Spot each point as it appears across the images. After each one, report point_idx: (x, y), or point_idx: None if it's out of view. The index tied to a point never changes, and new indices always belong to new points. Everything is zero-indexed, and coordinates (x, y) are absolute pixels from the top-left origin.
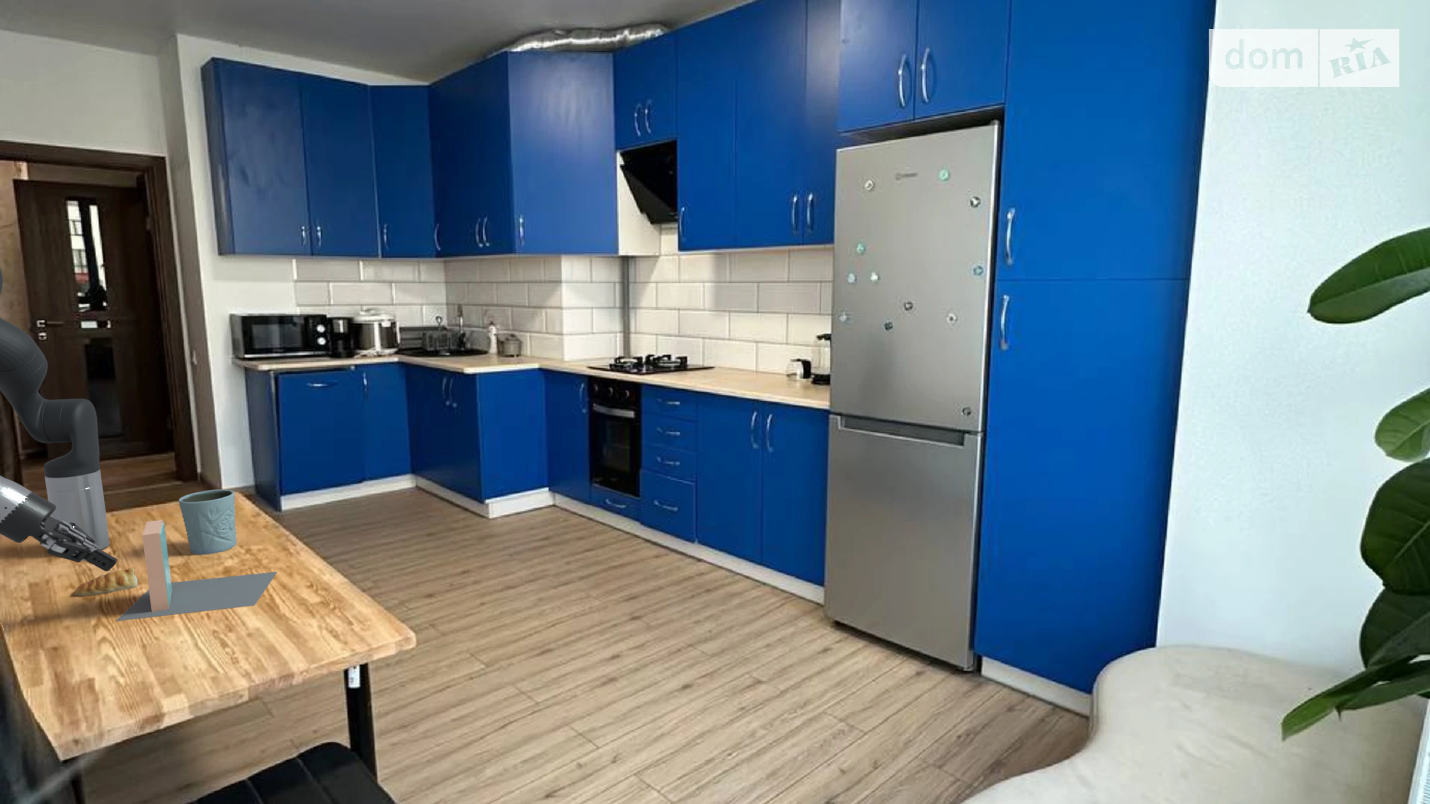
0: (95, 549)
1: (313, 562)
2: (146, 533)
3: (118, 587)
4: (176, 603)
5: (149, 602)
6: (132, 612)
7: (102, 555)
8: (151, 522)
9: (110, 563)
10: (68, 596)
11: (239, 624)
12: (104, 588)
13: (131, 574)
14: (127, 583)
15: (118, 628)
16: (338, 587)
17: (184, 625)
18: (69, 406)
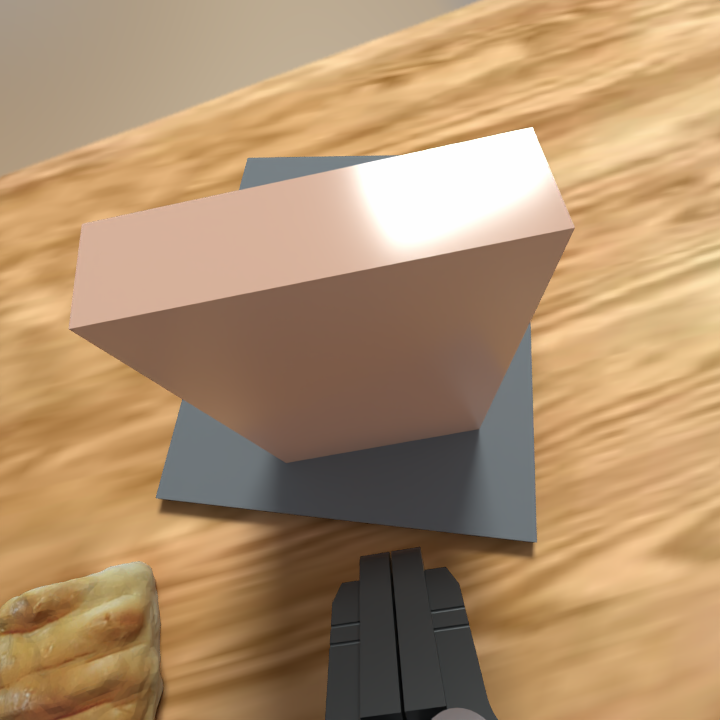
0: (457, 718)
1: (196, 108)
2: (518, 213)
3: (149, 632)
4: None
5: (365, 464)
6: (459, 499)
7: (438, 643)
8: (121, 283)
9: (450, 575)
10: None
11: (644, 170)
12: (145, 694)
13: (90, 587)
14: (138, 596)
15: (580, 521)
16: (431, 28)
17: (611, 308)
18: None
